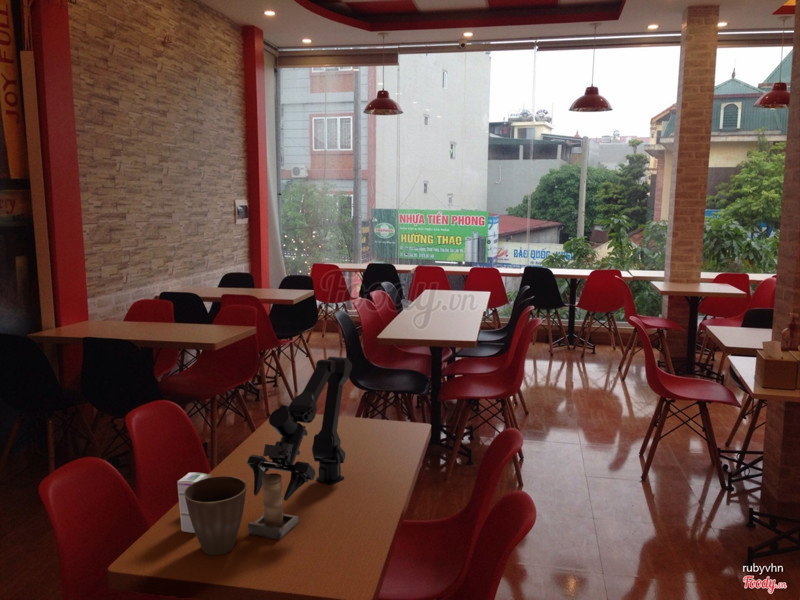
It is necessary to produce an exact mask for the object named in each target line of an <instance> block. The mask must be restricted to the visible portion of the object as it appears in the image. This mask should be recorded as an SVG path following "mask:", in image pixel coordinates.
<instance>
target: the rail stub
mask: <svg viewBox="0 0 800 600" xmlns="http://www.w3.org/2000/svg"><path fill="white" fill-rule="evenodd" d="M266 474H267V475H264V476H263V477H262V501H263V503H262V504H263V507H262V508H263V515H264V524H265V525H270V526H276V527H281V528H282V527H283V514H284V509H283V505H284V504H283V485H282V484H283V483H282V479H283V478H282V475H281V474H280V473H275V472H274V473H266Z"/></svg>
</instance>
